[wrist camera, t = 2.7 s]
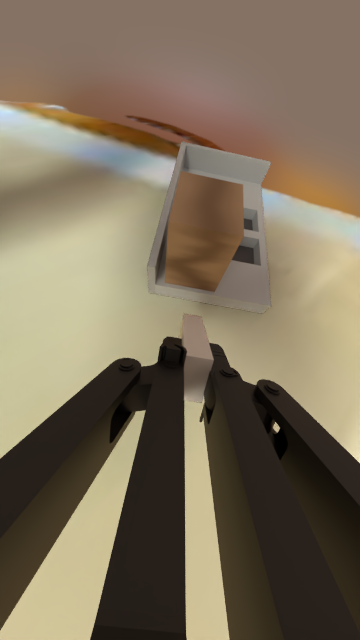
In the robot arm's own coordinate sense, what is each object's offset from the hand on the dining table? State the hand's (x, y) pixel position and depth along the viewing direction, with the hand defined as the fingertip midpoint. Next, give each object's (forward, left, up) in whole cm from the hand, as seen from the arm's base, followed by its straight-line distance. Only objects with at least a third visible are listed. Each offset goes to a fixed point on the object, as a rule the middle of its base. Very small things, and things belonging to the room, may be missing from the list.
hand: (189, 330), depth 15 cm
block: (0, +10, -4) cm, 11 cm away
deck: (+2, +19, -6) cm, 20 cm away
